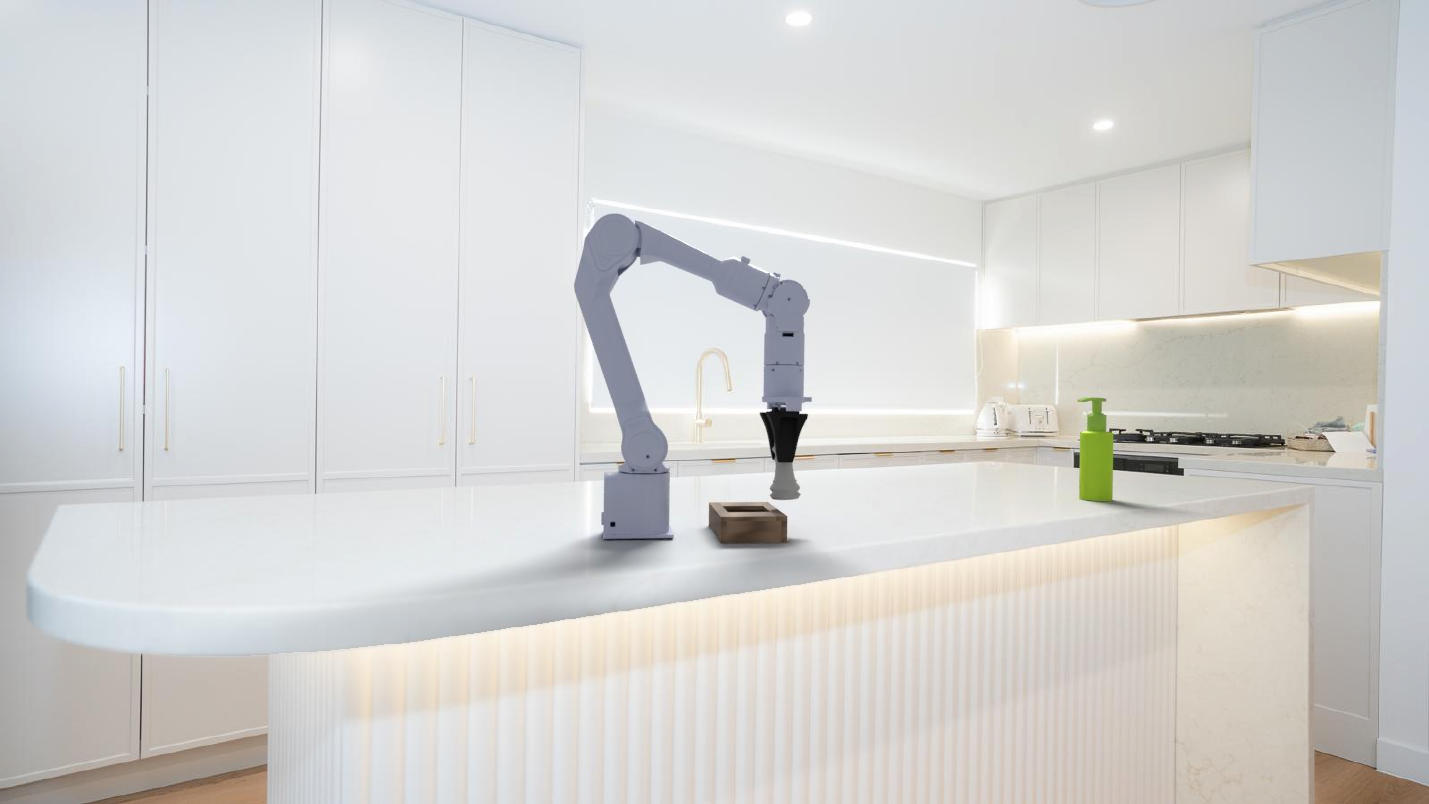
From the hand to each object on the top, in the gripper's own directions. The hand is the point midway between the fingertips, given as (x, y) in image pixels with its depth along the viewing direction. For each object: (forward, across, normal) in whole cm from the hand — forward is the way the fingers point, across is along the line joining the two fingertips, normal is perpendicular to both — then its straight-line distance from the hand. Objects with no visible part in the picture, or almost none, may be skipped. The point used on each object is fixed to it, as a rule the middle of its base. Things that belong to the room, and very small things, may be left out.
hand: (782, 461), depth 110 cm
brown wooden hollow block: (+10, 0, +5) cm, 12 cm away
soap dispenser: (+10, +34, -69) cm, 78 cm away
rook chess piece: (+6, 0, 0) cm, 6 cm away
